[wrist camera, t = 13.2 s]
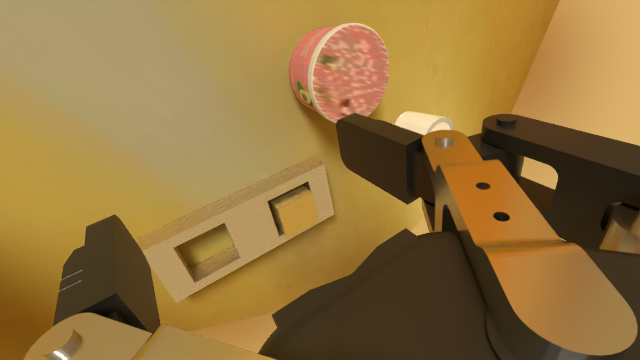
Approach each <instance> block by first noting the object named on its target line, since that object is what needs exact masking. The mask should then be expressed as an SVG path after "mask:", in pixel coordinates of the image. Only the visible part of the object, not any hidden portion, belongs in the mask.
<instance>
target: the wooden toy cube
mask: <svg viewBox="0 0 640 360" xmlns="http://www.w3.org/2000/svg"><path fill="white" fill-rule="evenodd" d="M267 202H268V205H269V208H270V211H271V214H272V216H273V219H274V222H275V225H276V226H277V227H278V228H279V230H280V231H281V232H282V233H283V234H284V236H285V237H286V238H287V239H288V238H289V237H291V236H293V235H295V234H297V233H299V232H300V231H302V230H304V229H306V228H308V227H310V226H311V225H313V224H315V223H317V222H318V217H317V213H316V208H315V204H314V200H313V195H312V192H310V191H309V190H308V189H307V188H306V187H304V186H303V185H300V186H298V187H296V188H293V189H291V190H289V191H287V192H285V193H283V194H281V195H279V196H277V197H275V198H273V199H271V200H269V201H267Z"/></svg>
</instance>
